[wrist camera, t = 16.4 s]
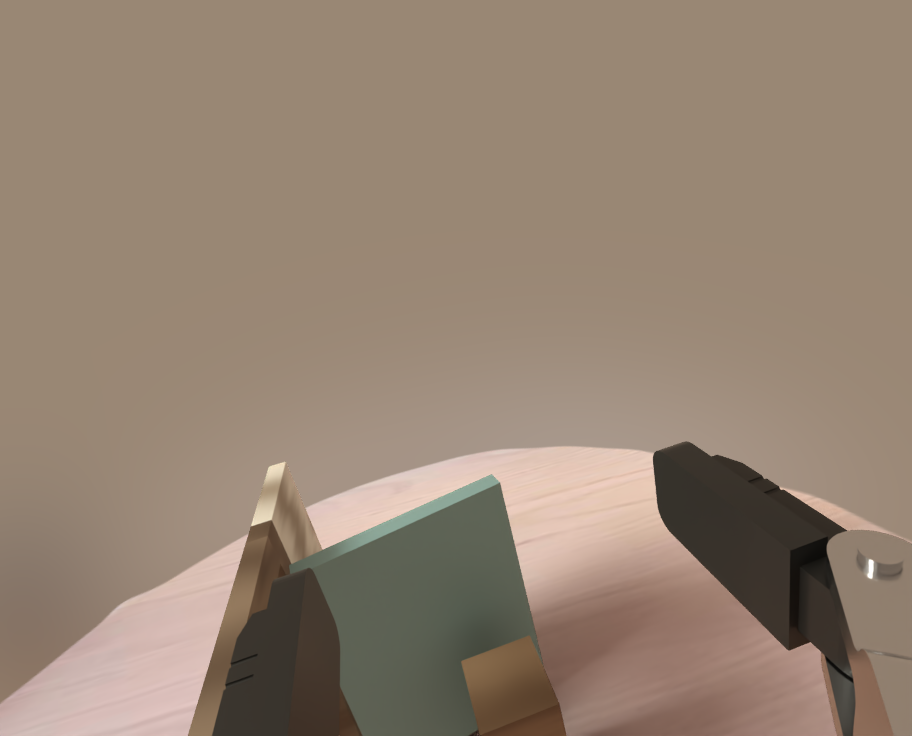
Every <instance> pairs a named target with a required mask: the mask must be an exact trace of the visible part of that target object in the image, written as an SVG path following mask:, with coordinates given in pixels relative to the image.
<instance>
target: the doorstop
mask: <svg viewBox="0 0 912 736" xmlns="http://www.w3.org/2000/svg"><path fill="white" fill-rule="evenodd" d="M461 663H462V667H463V671H464V675H465V679H466V683H467V687H468V691H469V695H470V699H471V703H472V707H473V711H474V714H475V718H476V722H477V726H478V730H479V734H480V736H566V731H565V727H564V723H563V718H562V714H561V710H560V705H559V702H558V700H557V698H556V695H555V693H554V691H553V688H552V686H551V684H550V681H549V679H548V677H547V674H546V672H545V670H544V667H543V665H542V663H541V660H540V658H539V656H538V653H537V651H536V649H535V646H534V644H533V642H532V639H531V637H530V635H529V636H526V637H524V638H521V639H518V640H516V641H513V642H511V643H508V644H505V645H503V646H500V647H497V648H495V649H492V650H489V651H487V652H484V653H481V654H479V655H476V656H473V657H471V658H468V659H465V660H463V661H461Z"/></svg>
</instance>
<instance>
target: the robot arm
mask: <svg viewBox="0 0 912 736" xmlns="http://www.w3.org/2000/svg"><path fill="white" fill-rule="evenodd" d="M653 465H654V475H655V485H656V495H657V504H658V510H659V513H660V516H661V518H662V520H663V522H664V524H665V525H666V527H667V529H668V530H669V531H670V532H671V533H672V534H673V535H674V536H675V537H676V538H677V539H678V540H679V541H680V542H681V543H682V544H683V545H684V546H685V547H686V548H687V549H688V550H689V551H690V552H691V553H692V554H693V555H694V556H695V557H696V558H697V559H698V560H699V561H700V563H701V564H702V565H703V566H704V567H705V568H706V569H707V570H708V571H709V572H710V573H711V574H712V575H713V576H714V577H715V578H716V579H717V580H718V581H719V582H720V583H721V584H722V585H723V586H724V587H725V588H726V589H727V590H728V591H729V592H730V593H731V594H732V595H733V596H734V597H735V598H736V599H737V600H738V601H739V602H740V603H741V604H742V605H743V606H744V607H745V608H746V609H747V610H748V611H749V612H750V613H751V614H752V615H753V616H754V617H755V618H756V619H757V620H758V621H759V622H760V623H761V624H762V625H763V626H764V627H765V628H766V629H767V630H768V631H769V632H770V633H771V634H772V635H773V636H774V637H775V638H776V639H777V640H778V641H779V642H780V643H781V644H782V645H783V646H784V647H785V648H786V649H787V650H788V651H789V650H792V649H794V648H797V647H799V646H802V645H804V644H807V643H809V642H811V643H812V644H813V645H814V646H816V647H817V648H818V649H819V650H820V651H821V665H822V670H823V675H824V679H825V684H826V688H827V693H828V697H829V702H830V706H831V711H832V716H833V720H834V725H835V729H836V734H837V736H912V544H911V543H909V542H907V541H905V540H903V539H900V538H898V537H895V536H892V535H889V534H886V533H881V532H876V531H869V530H851V531H847V530H846V529H844V528H842V527H841V526H839V525H838V524H836V523H835V522H833V521H832V520H830V519H828V518H827V517H825V516H824V515H822V514H821V513H819V512H818V511H816V510H814V509H813V508H811V507H810V506H808V505H807V504H805V503H804V502H802V501H801V500H799V499H797V498H796V497H794V496H793V495H791V494H790V493H788V492H787V491H785V490H780V488H779V486H777V485H775V484H774V483H773V482H771V481H769V480H768V479H764V478H763V477H762V475H760V474H759V473H757V472H756V471H754V470H752V469H751V468H749V467H748V466H746V465H745V464H743V463H741V462H738V461H734V460H732V459H729V458H726V457H723V456H719V455H715V456H712V457H711V456H709V455H708V454H707V453H705V452H704V451H702V450H701V449H699V448H698V447H696V446H695V445H693V444H692V443H690V442H682V443H679V444H676V445H673V446H671V447H668V448H665V449H662V450H659V451H656V452H655V453H654V455H653ZM230 664H231V668H229V671H228V675H227V678H226V682H225V686H226V689H225V690H223V694H222V698H221V702H220V706H219V710H218V714H217V718H216V721H215V725H214V729H213V733H212V736H339V710H340V641H339V635H338V630H337V626H336V623H335V620H334V617H333V615H332V613H331V610H330V608H329V606H328V603H327V601H326V599H325V596H324V594H323V592H322V590H321V587H320V585H319V583H318V580H317V578H316V576H315V574H314V572H313V570H312V569H311V568H306V569H303V570H300V571H297V572H295V573H292V574H289V575H286V576H283V577H280V578H277V579H274V580H273V582H272V585H271V590H270V595H269V600H268V605H267V609H265V610H262V611H259V612H256V613H253V614H252V615H251V617H250V618H249V620H248V622H247V623H246V625H245V626H244V628H243V629H242V631H241V633H240V634H239V636H238V637H237V639H236V643H235V647H234V651H233V655H232V659H231V663H230Z"/></svg>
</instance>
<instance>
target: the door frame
mask: <svg viewBox="0 0 912 736" xmlns="http://www.w3.org/2000/svg"><path fill="white" fill-rule="evenodd" d="M319 551H322V548H321V545H320V543H319V540H318V538H317V536H316V533H315V531H314V528H313V526H312V523H311V521H310V519H309V516H308V514H307V511H306V509H305V507H304V505H303V502H302V500H301V497H300V495H299V493H298V490H297V488H296V485H295V483H294V480H293V478H292V475H291V473H290V471H289V469H288V466H287V463H286V462H283V463H279V464H276V465H273V466H270V467H269V468H268V472H267V475H266V478H265V482H264V485H263V488H262V492H261V495H260V498H259V501H258V505H257V508H256V511H255V515H254V518H253V521H252V525H251V528H250V531H249V535H248V538H247V541H246V545H245V548H244V551H243V555H242V558H241V561H240V564H239V568H238V571H237V574H236V578H235V581H234V584H233V588H232V591H231V594H230V598H229V601H228V604H227V608H226V611H225V614H224V618H223V621H222V624H221V627H220V631H219V634H218V637H217V641H216V644H215V647H214V651H213V654H212V657H211V661H210V664H209V667H208V671H207V674H206V677H205V681H204V684H203V687H202V690H201V694H200V697H199V700H198V704H197V707H196V710H195V714H194V717H193V720H192V724H191V727H190V730H189V734H188V736H212V733H213V729H214V725H215V721H216V718H217V714H218V710H219V706H220V702H221V698H222V694H223V690H225V689H226V686H225V682H226V678H227V675H228V671H229V668H231V664H230V663H231V659H232V655H233V651H234V647H235V643H236V639H237V637H238V636H239V634H240V633H241V631H242V629H243V628H244V626H245V625H246V623H247V622H248V620H249V618H250V617H251V615H252V614H253V613H256V612H259V611H262V610H265V609H267V605H268V600H269V595H270V590H271V585H272V582H273V580H274V579H277V578H280V577H283V576H286V575H289V574H290V569H289V565H290V564H293V563H295V562H297V561H299V560H301V559H304V558H306V557H308V556H310V555H313V554H315V553H317V552H319ZM339 736H362V733H361V731H360V729H359V727H358V725H357V722H356V720H355V718H354V716H353V714H352V712H351V709H350V707H349V705H348V703H347V701H346V698H345V696H344V694H343V692H342V690H341V688H340V710H339Z"/></svg>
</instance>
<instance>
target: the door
mask: <svg viewBox="0 0 912 736" xmlns="http://www.w3.org/2000/svg"><path fill="white" fill-rule="evenodd" d="M306 568H311V569H312V570H313V572H314V574H315V576H316V578H317V580H318V583H319V585H320V587H321V590H322V592H323V594H324V596H325V599H326V601H327V603H328V606H329V608H330V610H331V613H332V615H333V617H334V620H335V623H336V626H337V630H338V635H339V641H340V688H341V690H342V692H343V694H344V696H345V698H346V701H347V703H348V705H349V707H350V709H351V712H352V714H353V716H354V718H355V720H356V722H357V725H358V727H359V729H360V731H361V733H362V736H469V735H470V734H472V733H474V732H475V731H477V730H478V726H477V722H476V718H475V714H474V711H473V707H472V703H471V699H470V695H469V691H468V687H467V683H466V679H465V675H464V671H463V667H462V663H461V661H463V660H465V659H468V658H471V657H473V656H476V655H479V654H481V653H484V652H487V651H489V650H492V649H495V648H497V647H500V646H503V645H505V644H508V643H511V642H513V641H516V640H518V639H521V638H524V637H526V636H529V635H530V637H531V639H532V642H533V644H534V646H535V649H536V651H537V653H538V656H539V658H540V660H541V663H542V665H543V662H542V658H541V654H540V649H539V645H538V641H537V637H536V633H535V628H534V624H533V620H532V616H531V611H530V607H529V603H528V599H527V595H526V590H525V586H524V582H523V578H522V574H521V569H520V565H519V561H518V557H517V553H516V548H515V544H514V540H513V536H512V531H511V527H510V523H509V519H508V515H507V510H506V506H505V502H504V498H503V494H502V489H501V485H500V482H499V481H498V480H497V479H496V478H495V477H494V476H493V475H492V474H491V475H489V476H487V477H485V478H482V479H480V480H478V481H476V482H473V483H471V484H469V485H467V486H464V487H462V488H460V489H458V490H455V491H453V492H451V493H449V494H447V495H444V496H442V497H440V498H438V499H435V500H433V501H431V502H429V503H426V504H424V505H422V506H420V507H418V508H415V509H413V510H411V511H409V512H406V513H404V514H402V515H400V516H397V517H395V518H393V519H391V520H389V521H386V522H384V523H382V524H380V525H377V526H375V527H373V528H371V529H368V530H366V531H364V532H362V533H360V534H357V535H355V536H353V537H351V538H348V539H346V540H344V541H342V542H339V543H337V544H335V545H333V546H330V547H328V548H326V549H324V550H322V551H319V552H317V553H315V554H313V555H310V556H308V557H306V558H304V559H301V560H299V561H297V562H295V563H293V564H290V565H289V569H290V574H292V573H295V572H297V571H300V570H303V569H306ZM543 667H544V666H543Z"/></svg>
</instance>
